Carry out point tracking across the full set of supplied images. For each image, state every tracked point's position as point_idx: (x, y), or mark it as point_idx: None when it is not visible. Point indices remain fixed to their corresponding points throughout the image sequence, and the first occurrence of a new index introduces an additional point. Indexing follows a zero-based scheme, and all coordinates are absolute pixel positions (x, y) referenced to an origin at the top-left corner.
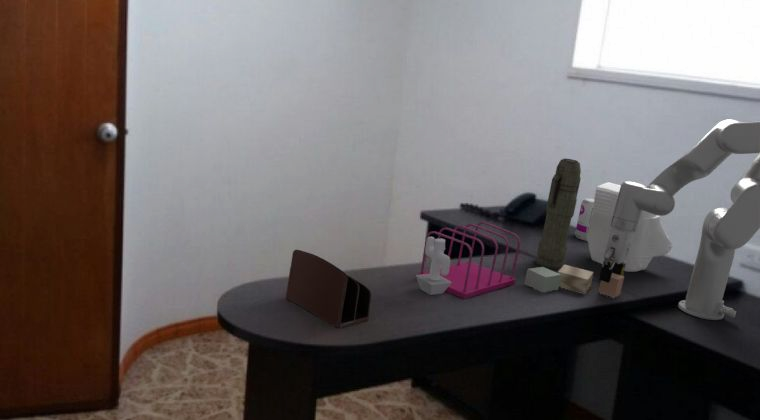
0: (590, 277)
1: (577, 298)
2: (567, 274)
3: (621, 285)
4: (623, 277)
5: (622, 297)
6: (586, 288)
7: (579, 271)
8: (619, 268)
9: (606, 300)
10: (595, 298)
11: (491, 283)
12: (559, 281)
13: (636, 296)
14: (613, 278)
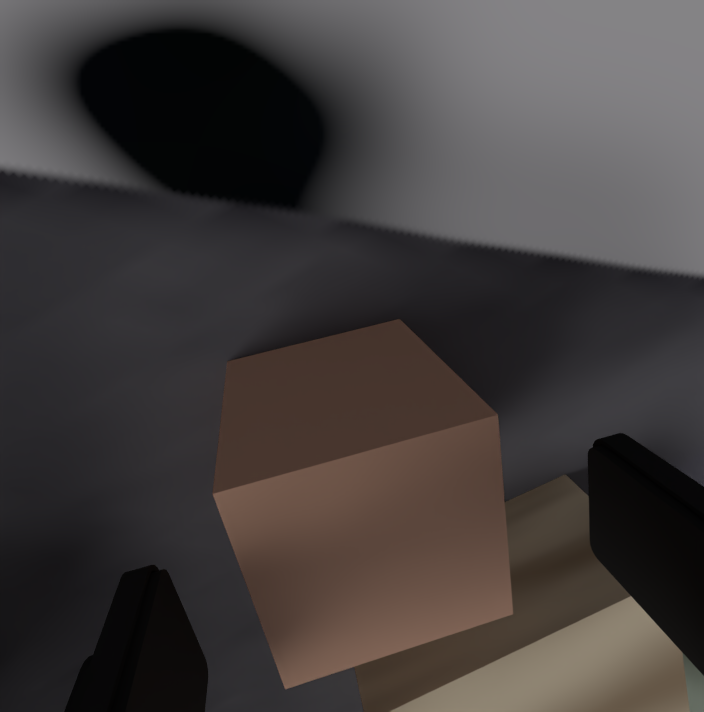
0: (516, 629)
1: (698, 436)
2: (685, 698)
3: (255, 407)
4: (248, 477)
5: (267, 305)
6: (571, 515)
7: None
8: (146, 709)
9: (526, 320)
10: (571, 388)
11: None
12: None
13: (21, 252)
14: (500, 484)
